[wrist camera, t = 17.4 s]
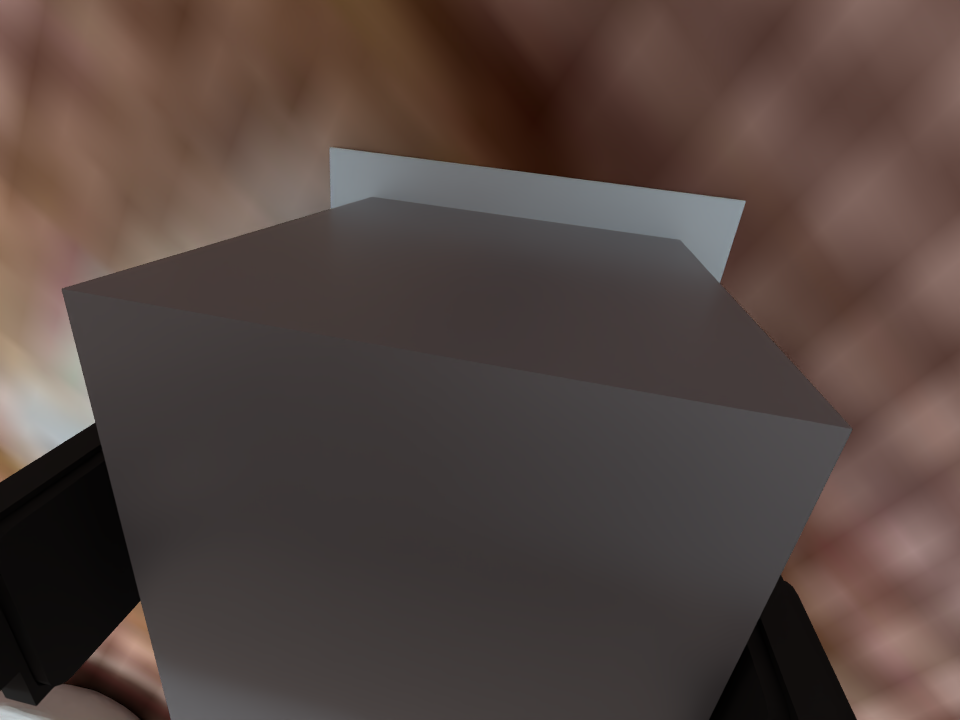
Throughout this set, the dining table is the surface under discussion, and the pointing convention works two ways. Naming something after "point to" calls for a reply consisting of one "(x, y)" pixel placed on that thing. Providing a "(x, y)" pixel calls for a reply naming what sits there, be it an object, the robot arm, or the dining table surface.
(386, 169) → the pale gray panel
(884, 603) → the dining table surface
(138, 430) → the plain gray box
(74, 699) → the spoon rest
